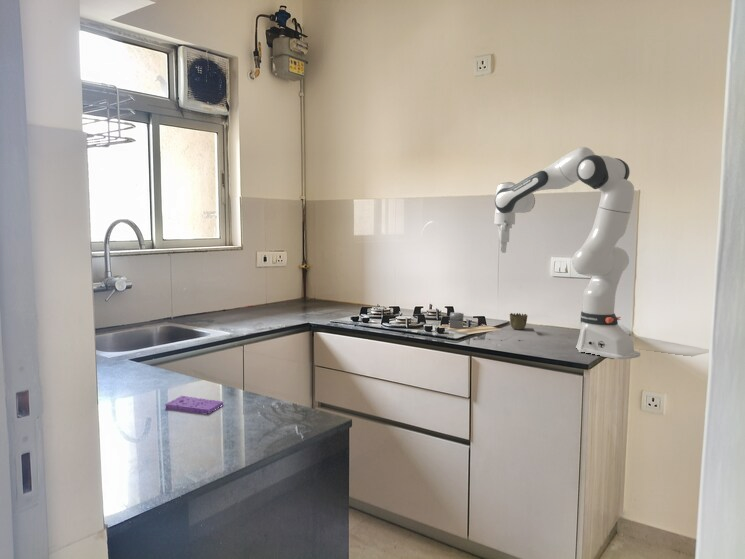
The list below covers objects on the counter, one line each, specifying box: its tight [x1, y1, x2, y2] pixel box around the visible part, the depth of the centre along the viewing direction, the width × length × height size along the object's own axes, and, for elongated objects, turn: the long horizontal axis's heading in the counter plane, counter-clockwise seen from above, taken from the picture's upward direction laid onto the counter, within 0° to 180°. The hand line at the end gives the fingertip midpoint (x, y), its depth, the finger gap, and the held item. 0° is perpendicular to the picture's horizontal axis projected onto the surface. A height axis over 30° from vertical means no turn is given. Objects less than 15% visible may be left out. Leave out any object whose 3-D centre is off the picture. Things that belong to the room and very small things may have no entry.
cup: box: [509, 312, 528, 331], centre depth 245 cm, size 8×7×8 cm
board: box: [436, 324, 503, 335], centre depth 247 cm, size 20×20×2 cm
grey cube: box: [449, 312, 465, 329], centre depth 247 cm, size 6×6×6 cm
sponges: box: [164, 395, 224, 414], centre depth 144 cm, size 7×13×2 cm, turn 73°
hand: (503, 252), depth 250 cm, fingers open, 8 cm apart
